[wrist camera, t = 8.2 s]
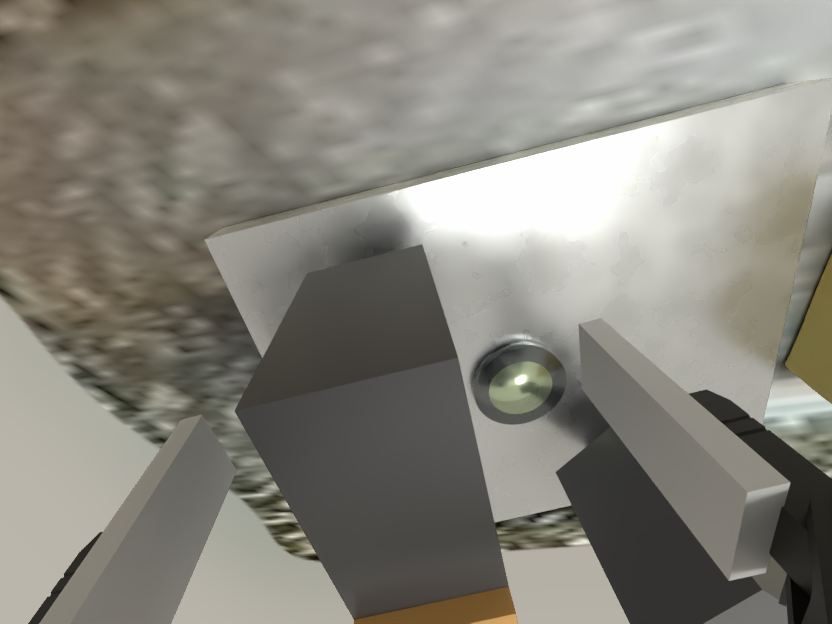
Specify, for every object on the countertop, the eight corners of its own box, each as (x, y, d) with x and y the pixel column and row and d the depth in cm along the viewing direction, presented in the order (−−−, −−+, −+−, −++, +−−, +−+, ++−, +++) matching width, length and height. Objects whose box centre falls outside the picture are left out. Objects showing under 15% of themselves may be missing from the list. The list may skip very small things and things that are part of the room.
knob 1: (318, 251, 15) (221, 435, 6) (416, 226, 15) (464, 378, 6) (379, 421, 19) (375, 685, 10) (458, 402, 19) (524, 654, 10)
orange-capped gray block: (536, 433, 20) (658, 681, 11) (594, 382, 19) (782, 614, 10) (638, 498, 23) (800, 737, 14) (693, 458, 22) (910, 690, 13)
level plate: (223, 227, 17) (196, 244, 14) (787, 82, 16) (858, 75, 13) (359, 522, 25) (357, 563, 23) (726, 439, 24) (762, 473, 22)
